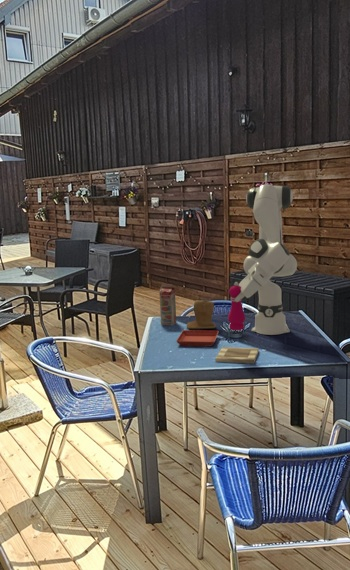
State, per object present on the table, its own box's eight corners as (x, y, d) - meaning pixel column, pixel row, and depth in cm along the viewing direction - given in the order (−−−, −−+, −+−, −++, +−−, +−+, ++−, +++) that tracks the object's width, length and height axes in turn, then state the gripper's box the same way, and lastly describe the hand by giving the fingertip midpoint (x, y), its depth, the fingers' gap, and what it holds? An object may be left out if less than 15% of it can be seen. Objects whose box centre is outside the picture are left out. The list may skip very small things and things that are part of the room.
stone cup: (215, 325, 273) (214, 297, 271) (216, 330, 262) (215, 302, 259) (187, 325, 274) (186, 298, 272) (186, 331, 262) (185, 303, 260)
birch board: (222, 350, 229) (222, 346, 229) (258, 351, 224) (258, 348, 224) (215, 361, 214) (215, 357, 213) (253, 363, 209) (253, 359, 209)
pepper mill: (234, 325, 222) (233, 280, 218) (248, 327, 217) (248, 281, 214) (224, 329, 216) (224, 282, 213) (239, 331, 212) (239, 284, 208)
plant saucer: (214, 348, 234) (214, 341, 233) (176, 347, 237) (175, 340, 237) (219, 337, 251) (218, 330, 250) (183, 336, 255) (182, 330, 254)
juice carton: (164, 322, 284) (163, 283, 280) (176, 322, 282) (174, 283, 278) (160, 324, 278) (159, 285, 274) (172, 325, 276) (170, 285, 272)
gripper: (250, 266, 222) (228, 289, 225) (255, 274, 202) (230, 299, 205) (260, 276, 223) (238, 299, 225) (266, 285, 203) (242, 309, 205)
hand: (235, 299), depth 215 cm, fingers closed on pepper mill, 5 cm apart
